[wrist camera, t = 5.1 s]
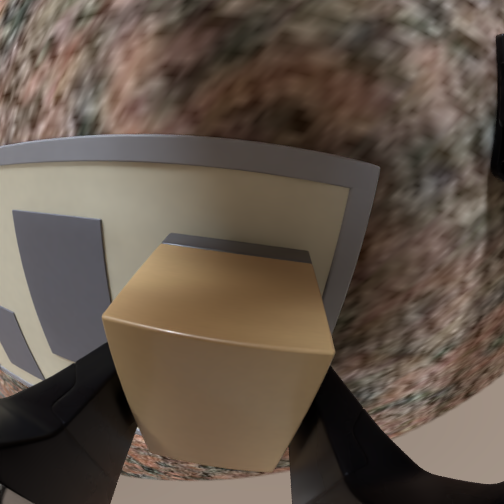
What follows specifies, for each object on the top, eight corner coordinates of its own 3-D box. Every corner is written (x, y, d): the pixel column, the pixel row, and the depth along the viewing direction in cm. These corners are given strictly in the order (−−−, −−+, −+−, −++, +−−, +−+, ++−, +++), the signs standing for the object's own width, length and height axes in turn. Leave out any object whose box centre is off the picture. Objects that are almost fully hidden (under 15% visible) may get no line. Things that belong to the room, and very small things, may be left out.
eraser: (309, 249, 8) (337, 353, 4) (274, 384, 10) (272, 473, 7) (169, 231, 8) (99, 315, 4) (176, 370, 10) (149, 453, 7)
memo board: (371, 162, 8) (382, 166, 7) (274, 447, 15) (274, 458, 14) (-55, 159, 8) (-64, 163, 7) (4, 363, 15) (-1, 369, 14)
